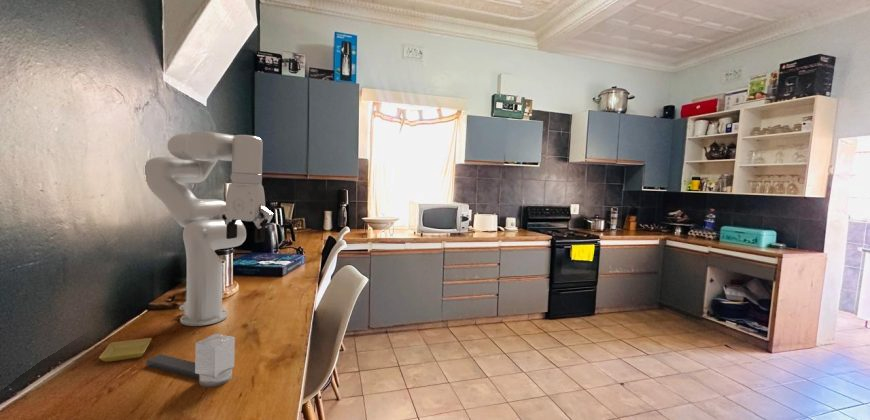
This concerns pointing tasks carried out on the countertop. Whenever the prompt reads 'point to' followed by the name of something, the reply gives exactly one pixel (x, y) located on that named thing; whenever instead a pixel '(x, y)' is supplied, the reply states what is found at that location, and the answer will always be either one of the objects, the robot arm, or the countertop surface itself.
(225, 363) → the white block
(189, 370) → the ratchet
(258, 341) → the countertop surface
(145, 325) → the countertop surface
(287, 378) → the countertop surface
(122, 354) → the flat yellow-green tile
